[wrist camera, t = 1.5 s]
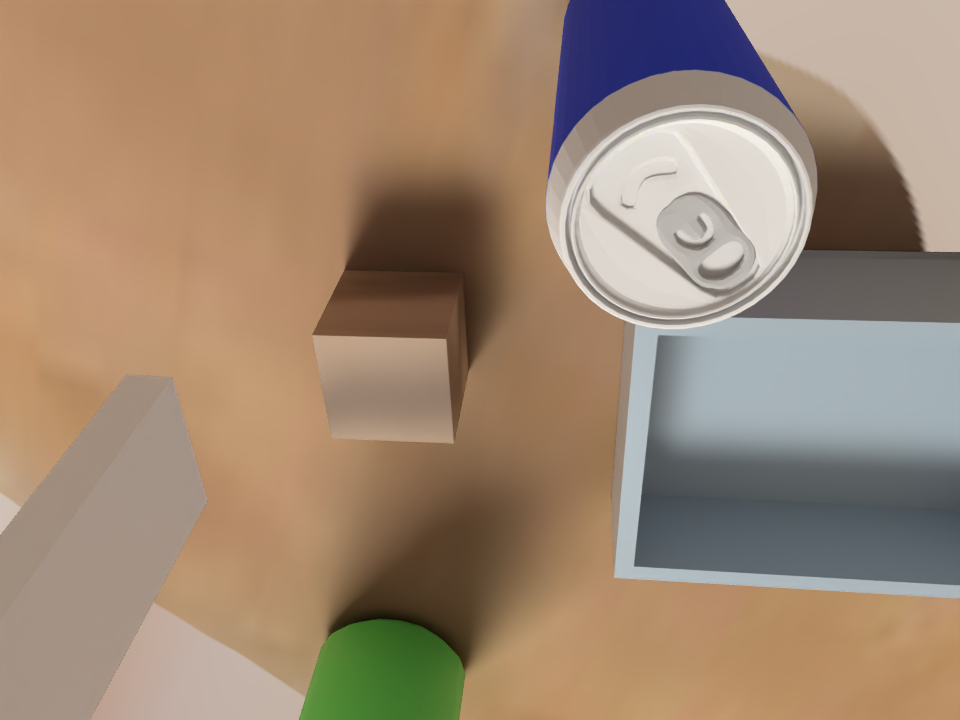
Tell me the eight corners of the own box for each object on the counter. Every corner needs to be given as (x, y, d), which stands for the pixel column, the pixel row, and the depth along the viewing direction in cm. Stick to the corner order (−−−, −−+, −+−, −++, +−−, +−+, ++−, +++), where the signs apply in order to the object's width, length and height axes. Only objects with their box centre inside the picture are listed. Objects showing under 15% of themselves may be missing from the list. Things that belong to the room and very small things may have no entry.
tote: (630, 247, 32) (636, 315, 28) (1114, 254, 30) (1196, 328, 26) (611, 496, 40) (613, 577, 36) (993, 515, 38) (1042, 603, 34)
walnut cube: (344, 269, 34) (312, 335, 30) (463, 271, 34) (446, 339, 29) (359, 366, 37) (331, 438, 33) (468, 369, 36) (453, 443, 32)
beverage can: (531, 26, 28) (486, 220, 15) (653, -97, 25) (712, 19, 13) (630, 133, 29) (660, 384, 17) (752, 28, 27) (887, 234, 15)
